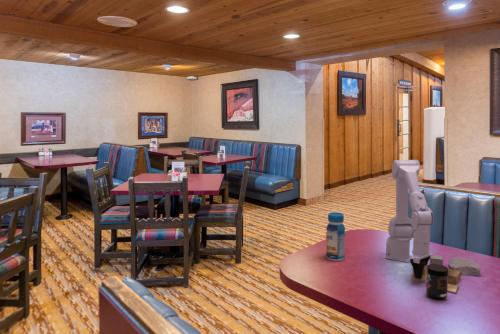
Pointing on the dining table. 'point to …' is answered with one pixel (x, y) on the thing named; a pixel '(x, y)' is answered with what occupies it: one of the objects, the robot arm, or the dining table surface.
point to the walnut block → (454, 276)
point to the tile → (453, 288)
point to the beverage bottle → (335, 237)
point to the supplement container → (437, 281)
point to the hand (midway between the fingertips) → (420, 275)
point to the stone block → (465, 266)
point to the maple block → (424, 275)
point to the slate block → (436, 260)
